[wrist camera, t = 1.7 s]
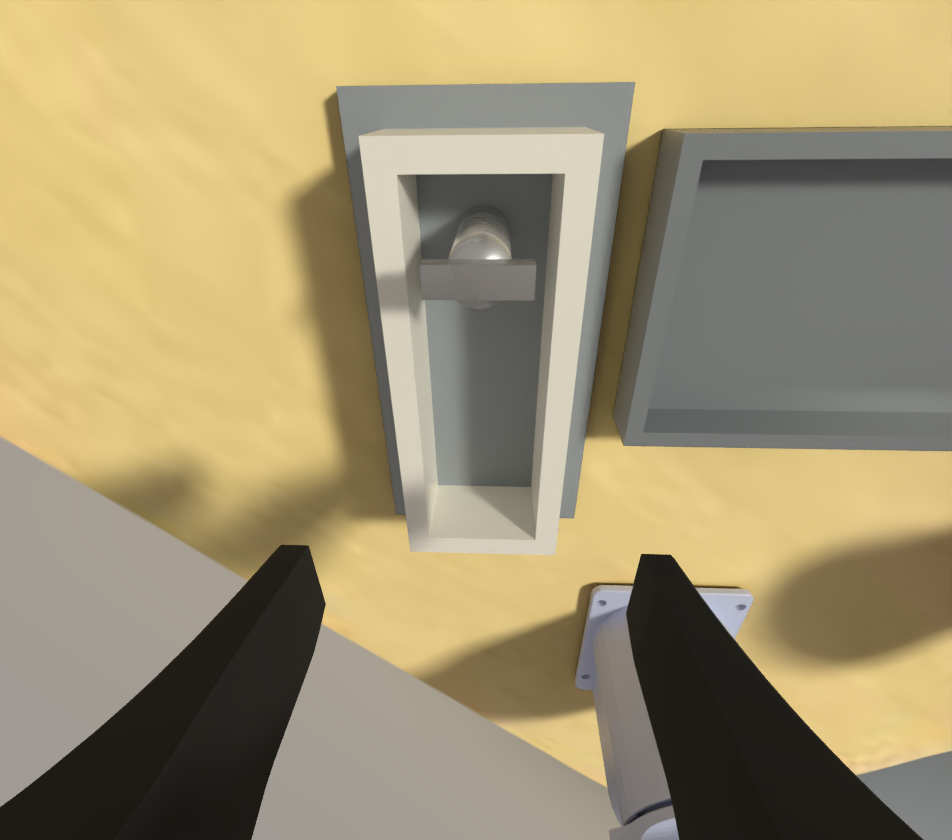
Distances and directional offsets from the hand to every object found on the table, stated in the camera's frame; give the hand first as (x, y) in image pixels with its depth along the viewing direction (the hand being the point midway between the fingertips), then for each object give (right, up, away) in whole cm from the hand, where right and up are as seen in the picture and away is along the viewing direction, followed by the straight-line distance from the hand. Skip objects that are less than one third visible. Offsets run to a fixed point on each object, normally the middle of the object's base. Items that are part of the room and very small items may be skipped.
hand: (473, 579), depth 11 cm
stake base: (0, +6, +7) cm, 9 cm away
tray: (+15, +8, +5) cm, 18 cm away
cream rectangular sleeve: (0, +6, +7) cm, 9 cm away
